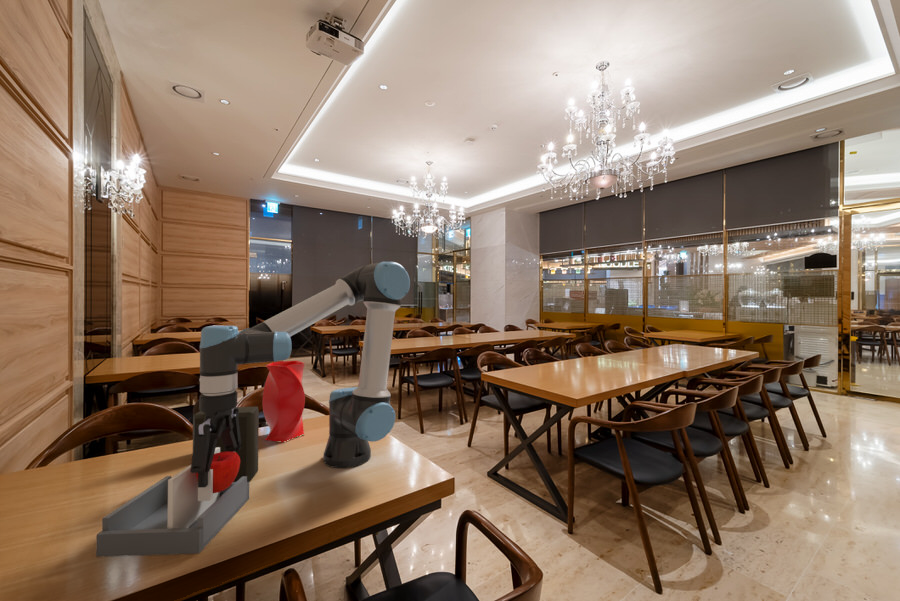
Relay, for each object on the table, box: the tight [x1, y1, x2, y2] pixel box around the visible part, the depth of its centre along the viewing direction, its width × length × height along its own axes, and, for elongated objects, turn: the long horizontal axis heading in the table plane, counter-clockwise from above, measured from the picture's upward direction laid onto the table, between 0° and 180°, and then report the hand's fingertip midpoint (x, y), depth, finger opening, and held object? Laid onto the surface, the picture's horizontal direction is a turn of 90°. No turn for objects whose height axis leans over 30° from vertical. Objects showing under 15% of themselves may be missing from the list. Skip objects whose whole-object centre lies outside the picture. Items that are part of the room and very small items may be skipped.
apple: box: [196, 452, 240, 493], centre depth 86 cm, size 9×9×8 cm
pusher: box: [167, 447, 220, 529], centre depth 85 cm, size 6×17×13 cm, turn 3°
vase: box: [261, 360, 306, 443], centre depth 142 cm, size 15×14×28 cm
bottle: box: [192, 406, 260, 483], centre depth 107 cm, size 8×16×25 cm, turn 100°
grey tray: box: [95, 475, 250, 557], centre depth 85 cm, size 20×21×7 cm
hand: (217, 488), depth 85 cm, fingers closed on apple, 9 cm apart
